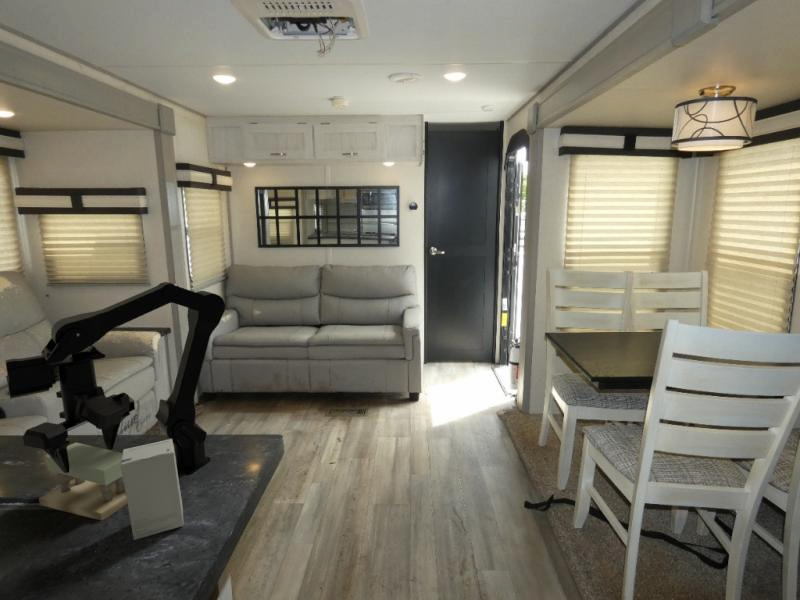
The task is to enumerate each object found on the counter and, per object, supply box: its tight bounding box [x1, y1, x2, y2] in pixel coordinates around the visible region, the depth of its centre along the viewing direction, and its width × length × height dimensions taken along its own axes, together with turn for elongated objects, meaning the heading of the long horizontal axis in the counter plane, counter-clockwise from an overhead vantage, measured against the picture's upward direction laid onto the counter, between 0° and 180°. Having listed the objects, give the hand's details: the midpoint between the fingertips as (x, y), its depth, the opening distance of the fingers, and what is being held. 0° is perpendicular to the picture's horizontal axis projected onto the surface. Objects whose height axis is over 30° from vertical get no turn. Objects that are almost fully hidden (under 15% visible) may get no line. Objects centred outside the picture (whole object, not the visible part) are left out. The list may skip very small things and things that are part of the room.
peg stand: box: [38, 473, 128, 521], centre depth 94 cm, size 16×10×6 cm, turn 71°
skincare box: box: [121, 438, 185, 541], centre depth 85 cm, size 8×6×15 cm
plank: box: [45, 442, 123, 486], centre depth 93 cm, size 16×6×3 cm, turn 69°
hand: (89, 460), depth 93 cm, fingers open, 9 cm apart
